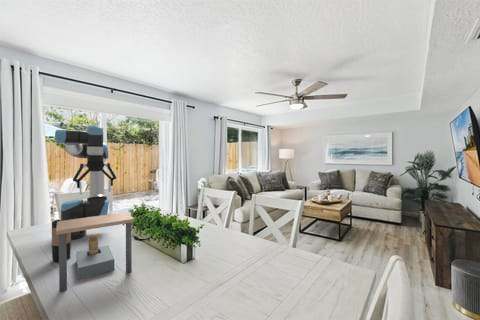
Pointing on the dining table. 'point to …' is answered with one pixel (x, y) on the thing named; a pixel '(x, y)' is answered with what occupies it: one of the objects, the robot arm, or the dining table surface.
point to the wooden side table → (87, 224)
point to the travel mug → (56, 242)
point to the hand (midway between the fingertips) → (95, 193)
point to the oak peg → (93, 244)
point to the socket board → (94, 262)
